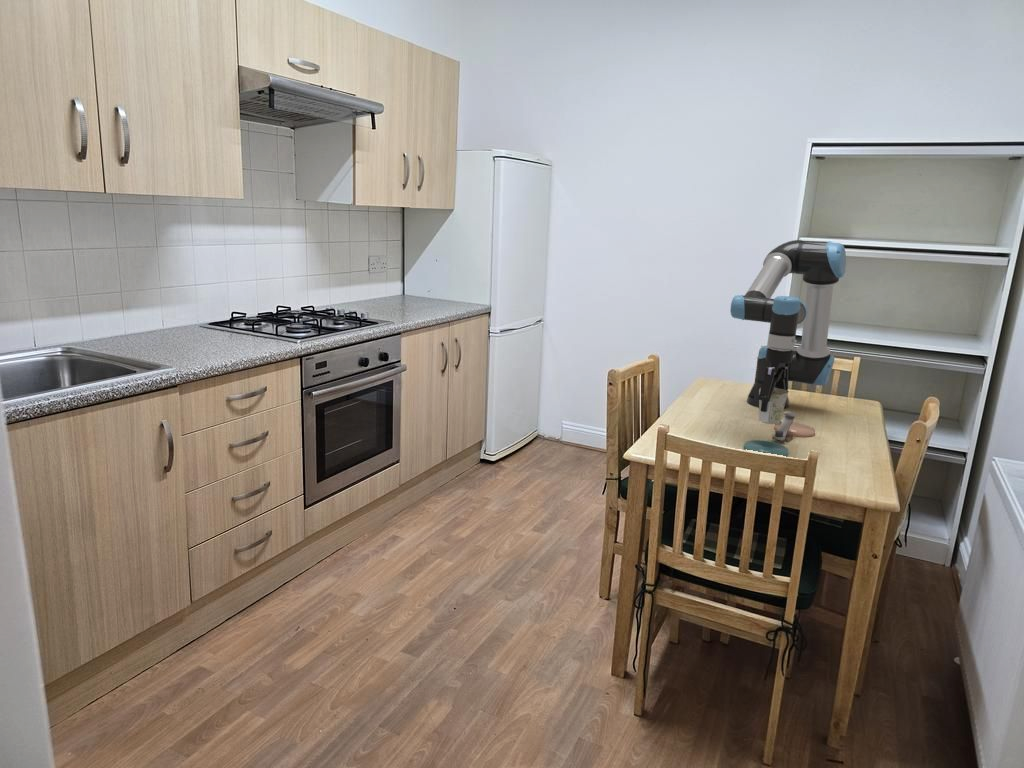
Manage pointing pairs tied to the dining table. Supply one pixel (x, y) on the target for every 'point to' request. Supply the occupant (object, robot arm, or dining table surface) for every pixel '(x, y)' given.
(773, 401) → the mug
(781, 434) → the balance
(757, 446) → the dish front
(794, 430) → the dish back
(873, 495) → the dining table surface
